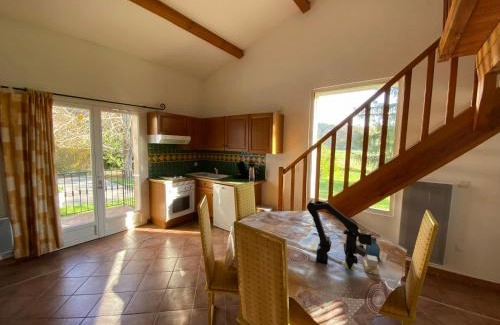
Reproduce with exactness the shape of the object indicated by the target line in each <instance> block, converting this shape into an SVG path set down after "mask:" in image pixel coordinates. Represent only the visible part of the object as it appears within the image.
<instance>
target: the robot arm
mask: <svg viewBox="0 0 500 325" xmlns="http://www.w3.org/2000/svg"><path fill="white" fill-rule="evenodd" d="M306 209H307V211H308V212H309V215H311V217H312V219H313V223H314V226H315V228H316V231H317V234H318V237H319V238H318V239H319V243H318V244H317V248H316V256H315V257H316V258H315V262H316V263H319V264H324V265H327V264H328V262H329V252H330V251H331V248H332V242H333V241H331V237H330V236H327V235H326V232H325V229H324V226H323V223H322V220H321V217H320V214H319V211H322V210H326V211H327V212H329V214H331V215H332V216H334V217H335V218H336V219H337V220H338V221H339V222H340V223H342V225H343V226H344V227H345V229H344V230H343V232H342V234H344V235H346V236H345V242H344V243H343V251H344V255H345V257H344V261H345V260H346V263H347V265H348V268H349V269H348V270H350V269H351V268H352V265H353V263H354V265H358V263H359V259H358V257H357V256H356V255H359V256H361V257H362V258H366V256H367V251H366V247H365V246H366V245H369V246H371V244H372V241H371V237H372V234H371V233H370V232H362V231H361V229H360V227H359V224H358V222H357V221H356V220H355V219H353V218H351V217H349V216H347V215H345V214H344V213H343V212H341V211H340V210H338V209H337V207H335V206H334V205H332V204H331V203H330V202H329V201H321V200H314V199H311V200H309V201H308V203H307V205H306ZM357 242H359V243H358V244H357ZM364 245H365V246H364Z"/></svg>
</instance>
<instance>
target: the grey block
mask: <svg viewBox="0 0 500 325" xmlns="http://www.w3.org/2000/svg"><path fill="white" fill-rule="evenodd" d="M365 260H366V261H367V265H368V266H372V267H377V265H378V264H379V260H378V258H377V257H376V256H371V255H367V254H366V259H365ZM378 266H379V265H378Z"/></svg>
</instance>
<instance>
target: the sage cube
mask: <svg viewBox="0 0 500 325" xmlns="http://www.w3.org/2000/svg"><path fill="white" fill-rule="evenodd" d="M345 268H348V265H347V263H346V260H345V259H344V269H345ZM354 268H355V264H354V263H353V265H352V268H351V269H352V270H351V271H354ZM347 270H350V269H349V268H348V269H347Z"/></svg>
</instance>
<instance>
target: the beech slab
mask: <svg viewBox="0 0 500 325" xmlns="http://www.w3.org/2000/svg"><path fill="white" fill-rule="evenodd" d="M366 260H367V259H363V264H362V265H363V266H362V267H363V269H365V270H364V272H365V271H366V272H365V273H368V272H371V273H370V274H372V273H375V274H374V275H377V274H380V266H379V265H377V267H372V266H368V265H367V261H366Z"/></svg>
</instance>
